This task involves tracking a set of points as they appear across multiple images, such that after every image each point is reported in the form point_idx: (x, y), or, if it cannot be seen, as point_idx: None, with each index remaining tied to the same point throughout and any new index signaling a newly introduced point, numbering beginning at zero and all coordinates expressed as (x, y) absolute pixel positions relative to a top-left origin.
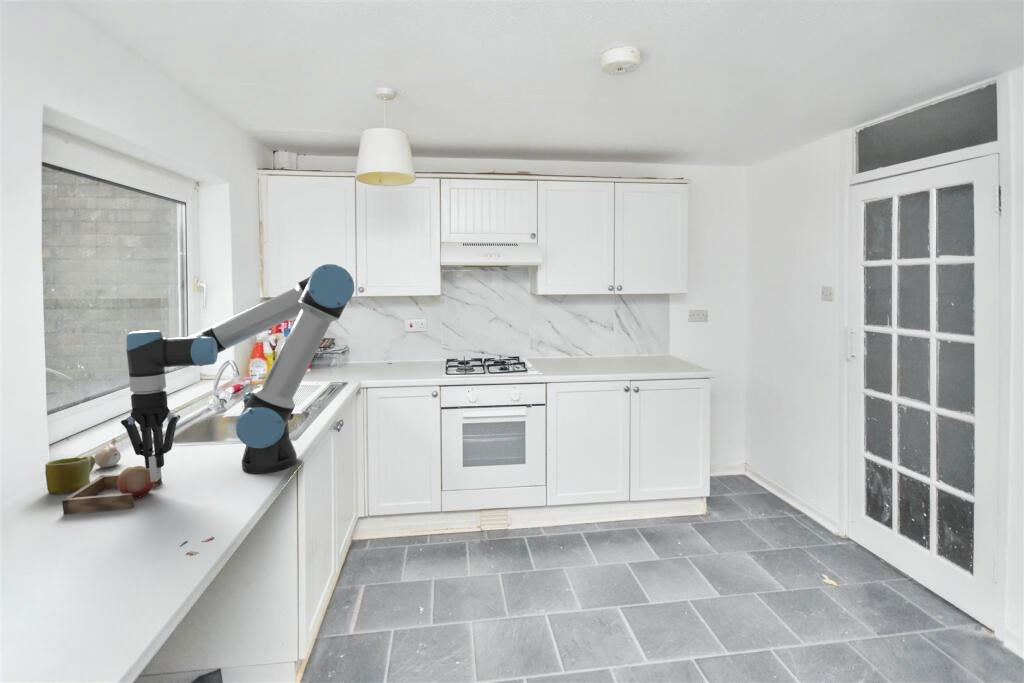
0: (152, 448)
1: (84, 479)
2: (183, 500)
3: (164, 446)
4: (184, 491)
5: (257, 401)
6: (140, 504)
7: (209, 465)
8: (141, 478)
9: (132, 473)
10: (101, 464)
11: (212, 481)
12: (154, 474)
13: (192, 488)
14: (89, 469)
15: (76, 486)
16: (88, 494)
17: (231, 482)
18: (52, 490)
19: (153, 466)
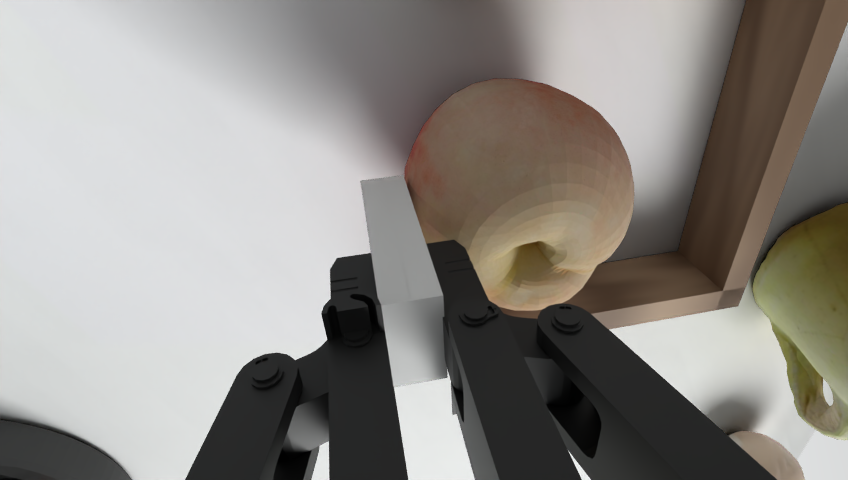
0: (460, 422)
1: (798, 284)
2: (109, 39)
3: (261, 430)
4: (227, 197)
5: None
6: (393, 8)
7: (327, 475)
8: (451, 147)
9: (530, 158)
10: (756, 438)
11: (156, 324)
12: (377, 204)
13: (207, 237)
14: (810, 344)
15: (810, 239)
16: (738, 132)
17: (5, 310)
18: None
19: (389, 243)
